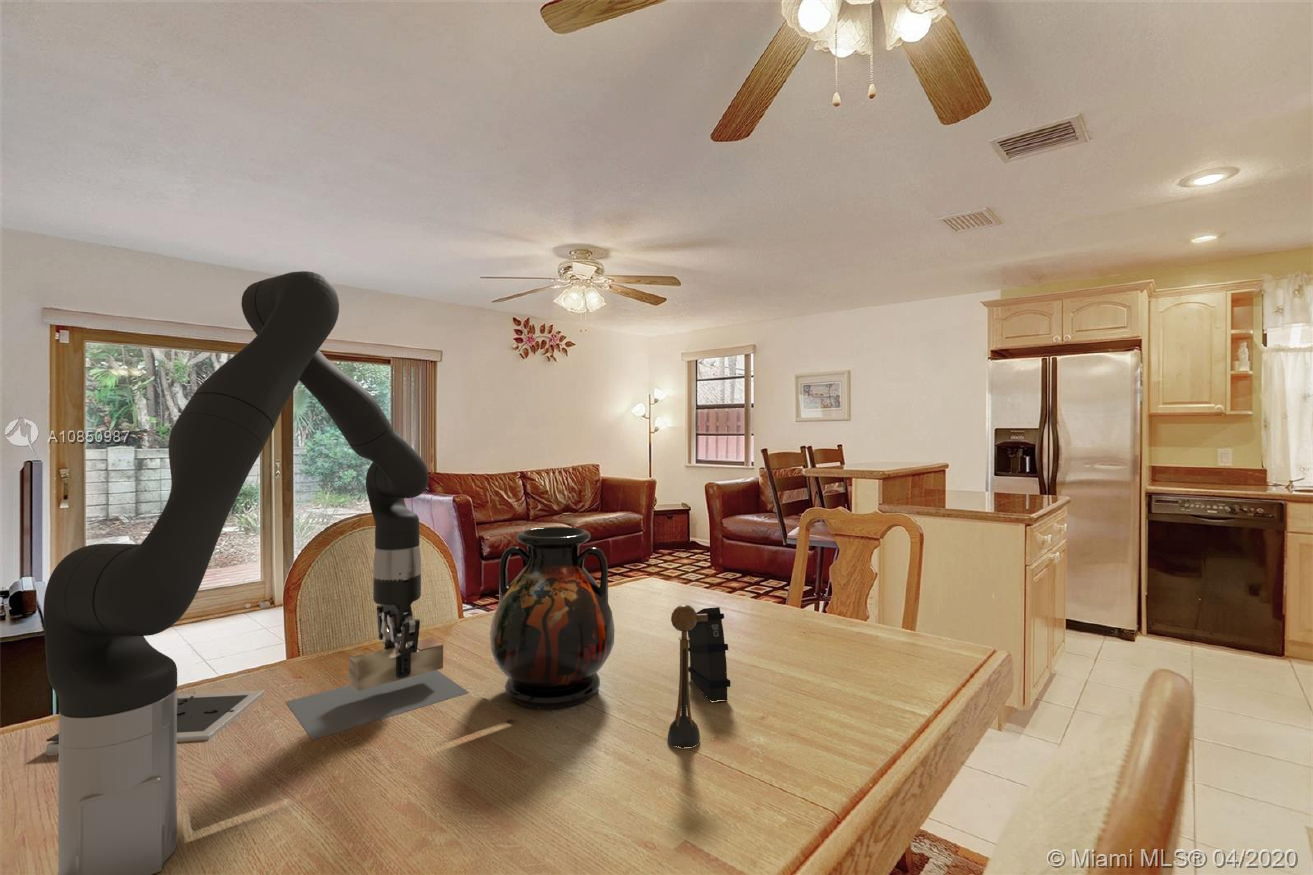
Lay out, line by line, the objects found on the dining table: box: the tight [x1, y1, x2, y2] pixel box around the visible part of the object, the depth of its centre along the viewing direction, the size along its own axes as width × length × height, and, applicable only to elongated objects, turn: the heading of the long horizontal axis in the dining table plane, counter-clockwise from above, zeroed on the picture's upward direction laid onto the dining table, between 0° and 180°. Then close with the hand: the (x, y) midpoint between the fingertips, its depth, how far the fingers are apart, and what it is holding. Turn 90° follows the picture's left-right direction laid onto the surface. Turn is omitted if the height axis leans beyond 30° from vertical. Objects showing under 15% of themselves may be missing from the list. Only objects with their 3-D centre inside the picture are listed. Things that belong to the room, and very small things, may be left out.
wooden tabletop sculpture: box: [667, 604, 708, 748], centre depth 89 cm, size 6×5×20 cm
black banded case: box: [687, 606, 731, 701], centre depth 107 cm, size 4×13×15 cm, turn 17°
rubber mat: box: [285, 669, 470, 741], centre depth 101 cm, size 17×24×1 cm
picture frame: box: [45, 690, 265, 756], centre depth 93 cm, size 16×3×21 cm
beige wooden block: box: [348, 637, 444, 691], centre depth 104 cm, size 14×5×4 cm, turn 133°
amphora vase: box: [489, 526, 615, 710], centre depth 106 cm, size 22×22×28 cm
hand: (397, 671), depth 104 cm, fingers closed on beige wooden block, 5 cm apart
